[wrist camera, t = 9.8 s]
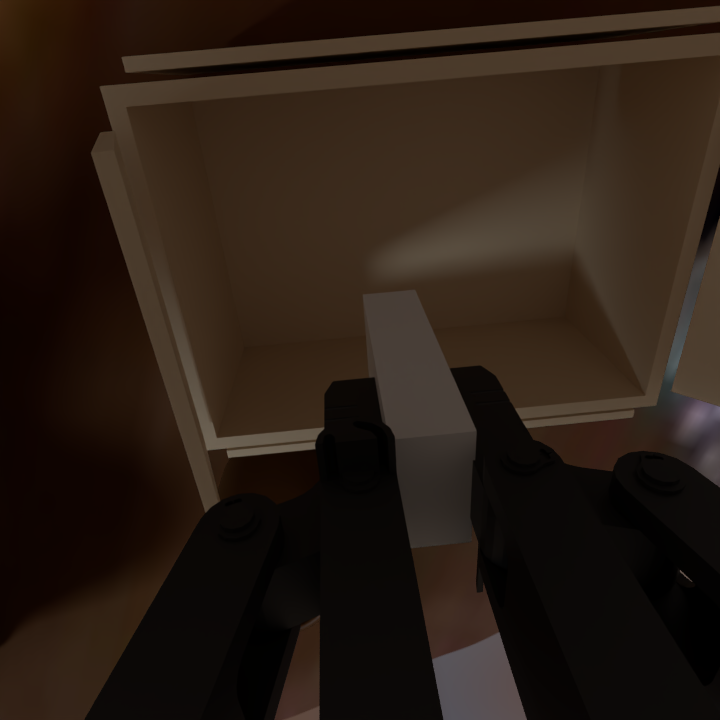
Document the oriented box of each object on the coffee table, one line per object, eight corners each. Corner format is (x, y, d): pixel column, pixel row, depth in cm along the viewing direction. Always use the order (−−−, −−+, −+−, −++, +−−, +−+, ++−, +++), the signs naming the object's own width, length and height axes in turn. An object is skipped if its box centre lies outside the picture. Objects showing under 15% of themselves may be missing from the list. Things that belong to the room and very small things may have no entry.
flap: (113, 150, 9) (90, 152, 9) (236, 562, 15) (223, 567, 15) (114, 130, 15) (100, 132, 15) (203, 435, 21) (193, 438, 21)
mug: (358, 385, 31) (370, 492, 23) (408, 465, 35) (435, 583, 27) (200, 460, 33) (160, 583, 25) (263, 528, 37) (245, 656, 29)
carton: (239, 362, 30) (209, 462, 22) (173, 66, 22) (91, 59, 15) (567, 330, 30) (652, 418, 22) (611, 29, 23) (762, 1, 15)
